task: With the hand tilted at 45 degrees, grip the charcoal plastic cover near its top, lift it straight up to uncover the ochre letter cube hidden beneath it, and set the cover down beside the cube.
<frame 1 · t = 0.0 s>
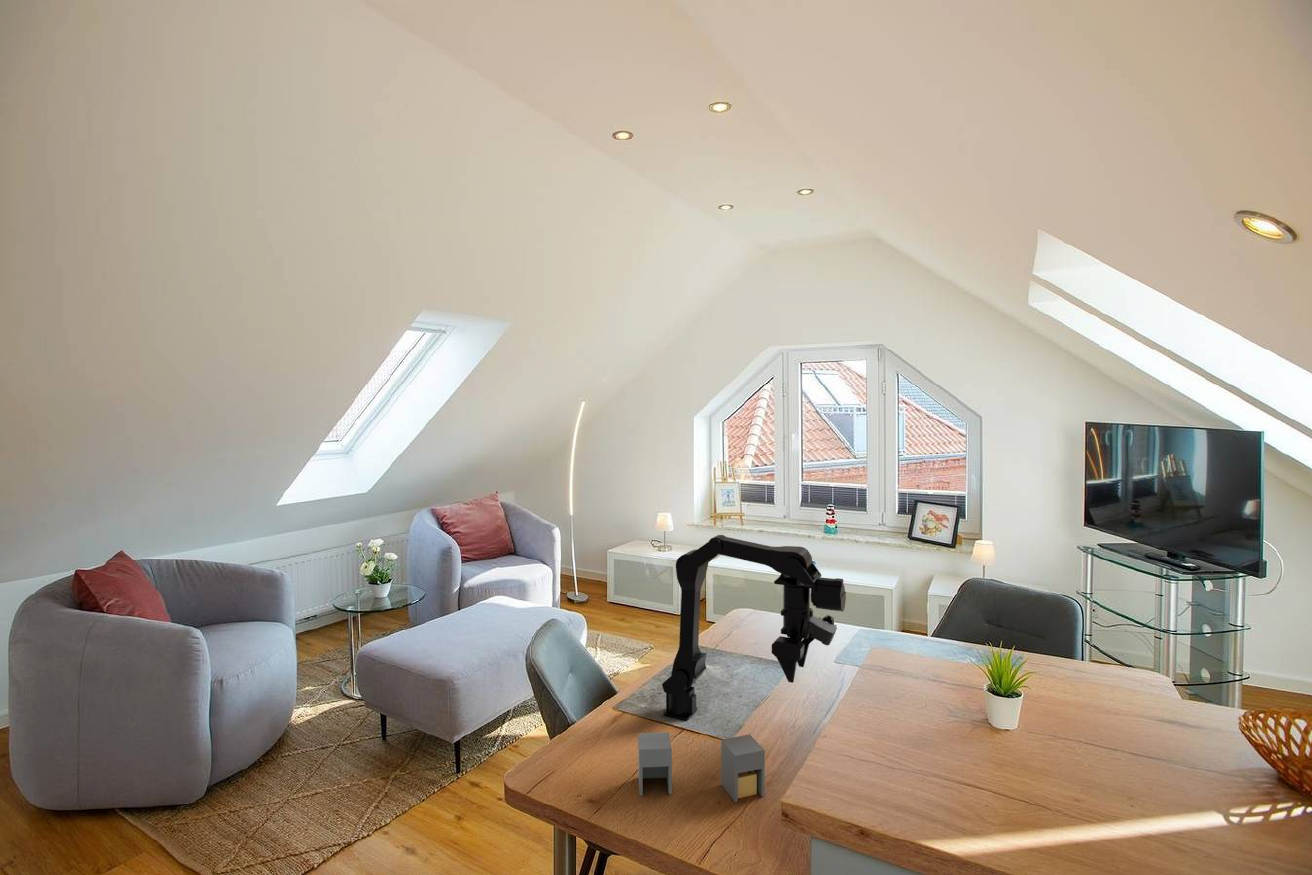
hand: (796, 674, 144), 14 cm above the table, fingers open, 9 cm apart
ochre cube: (742, 790, 125), on the table
charcoal cover: (742, 789, 125), on the table
slate cover: (654, 785, 127), on the table
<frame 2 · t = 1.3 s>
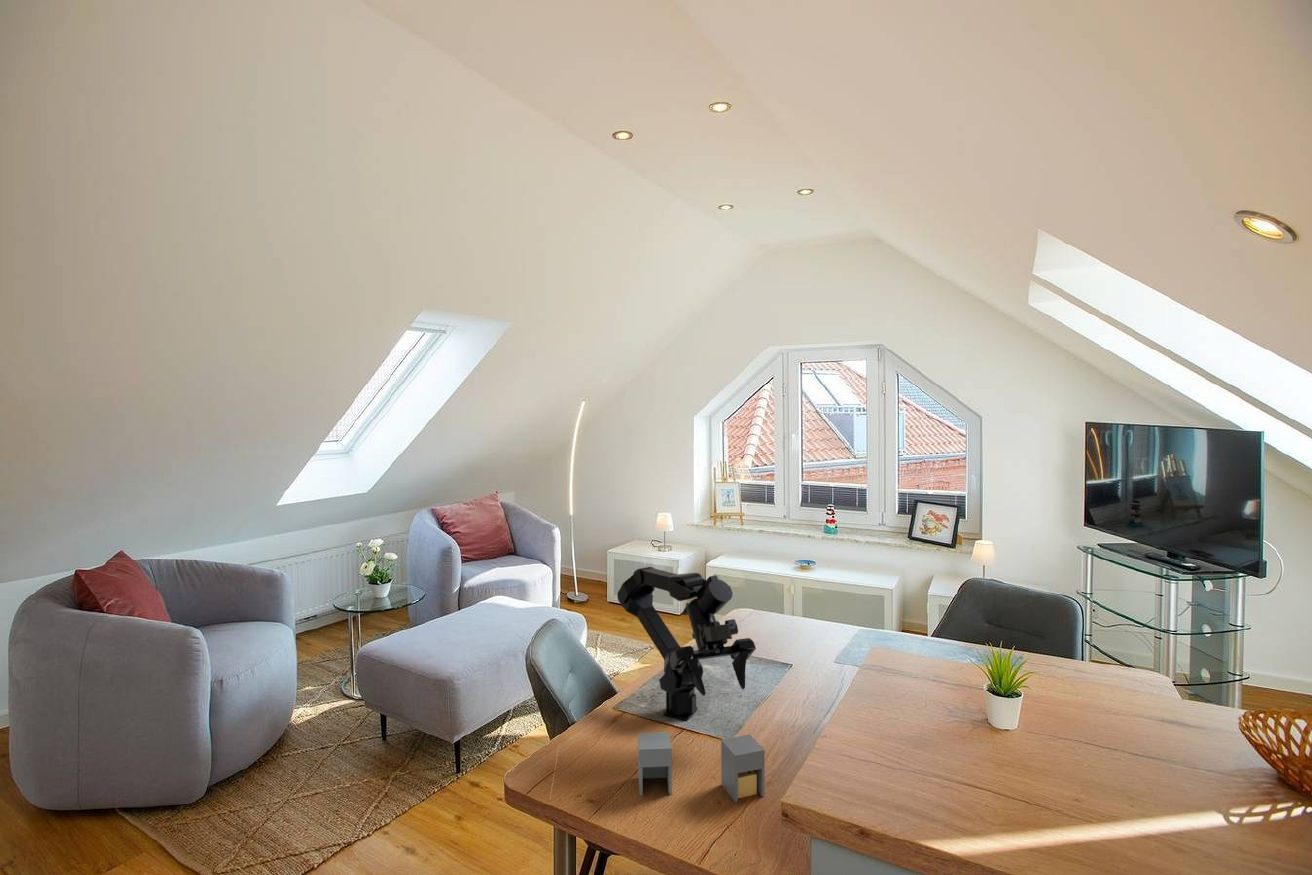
hand: (724, 691, 138), 13 cm above the table, fingers open, 9 cm apart
nothing on the table moved.
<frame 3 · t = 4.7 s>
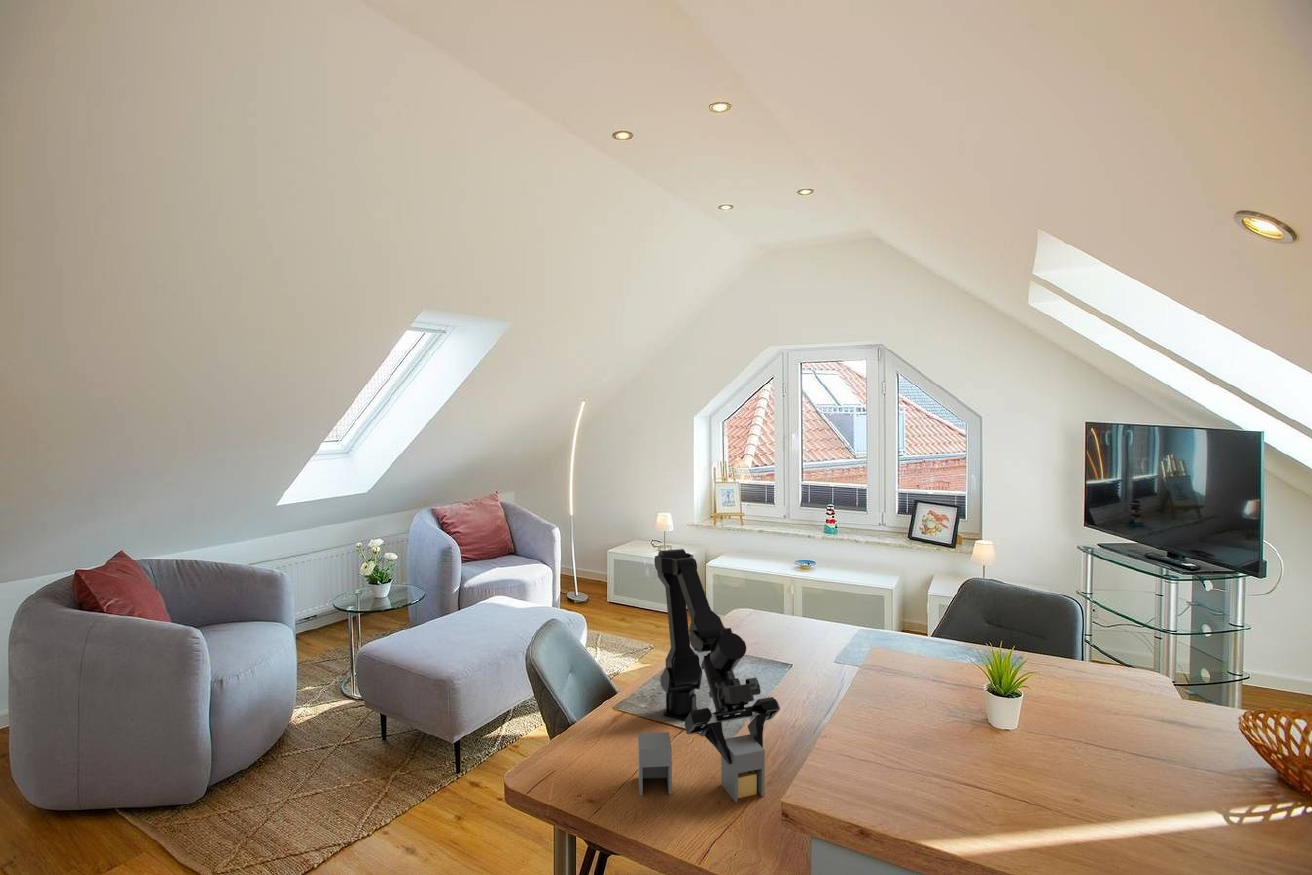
hand: (745, 760, 124), 7 cm above the table, fingers closed on charcoal cover, 6 cm apart
charcoal cover: (742, 790, 125), on the table, touching gripper
everything else where it was.
when the fingers open (8 cm above the table, at t = 10.2 s): charcoal cover stays where it is, on the table.
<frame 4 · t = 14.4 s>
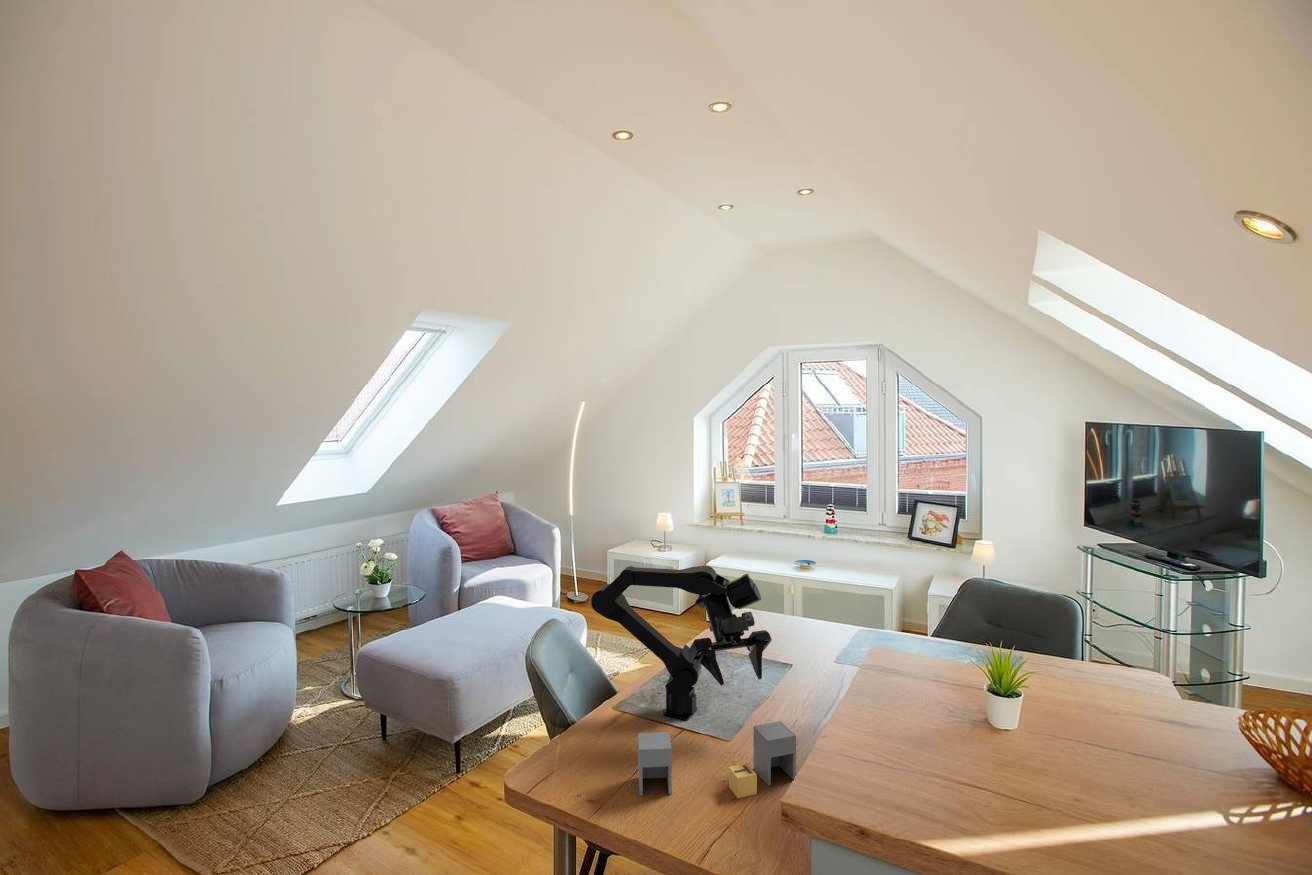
hand: (741, 681, 142), 14 cm above the table, fingers open, 9 cm apart
charcoal cover: (774, 774, 131), on the table
everything else where it was.
at the end: charcoal cover 0.3 cm from the target spot, on the table; charcoal cover tilted 0°; ochre cube moved 0.1 cm from its start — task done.
